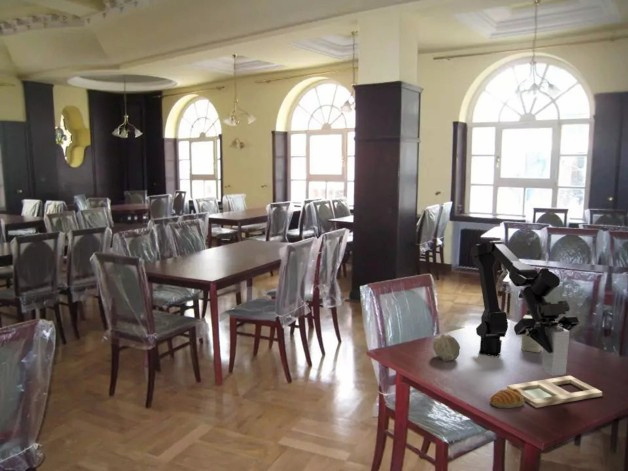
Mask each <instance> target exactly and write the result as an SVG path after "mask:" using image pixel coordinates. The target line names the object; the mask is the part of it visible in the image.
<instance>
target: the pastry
mask: <svg viewBox="0 0 628 471" xmlns="http://www.w3.org/2000/svg"><path fill="white" fill-rule="evenodd" d="M489 400H490V402H489V404H490V405H492V406H494V407H495V408H500V409H503V408H505V409H512V408H517V407H518V408H519V407H522V406H523V405H525V402H526V401H525V400H524V399H523V396H522V394H521V392H520V391H519V390H517V389H513V388H510V389H507V388H506V389H500V390H499V391H497V392H496V393H494V394H493V395H491V397H490V399H489Z"/></svg>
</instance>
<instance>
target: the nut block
mask: <svg viewBox="0 0 628 471" xmlns="http://www.w3.org/2000/svg"><path fill="white" fill-rule="evenodd" d="M545 335H546V337H547V339H548V342H549V344H550V346H551V349H552V353H548V352H547V351H546V350H545V349H544V348H543V347H542V359H541V370H542V371H543V372H545V373H546V374H548V375H550V376H561V375H562V376H563V375H565V376H566V375H567V374H566V372H567V365H568V364H567V362H568V353H569V342H570V331H568V330H566V329H564V328H562V327H560V326H551V327H545Z"/></svg>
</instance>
